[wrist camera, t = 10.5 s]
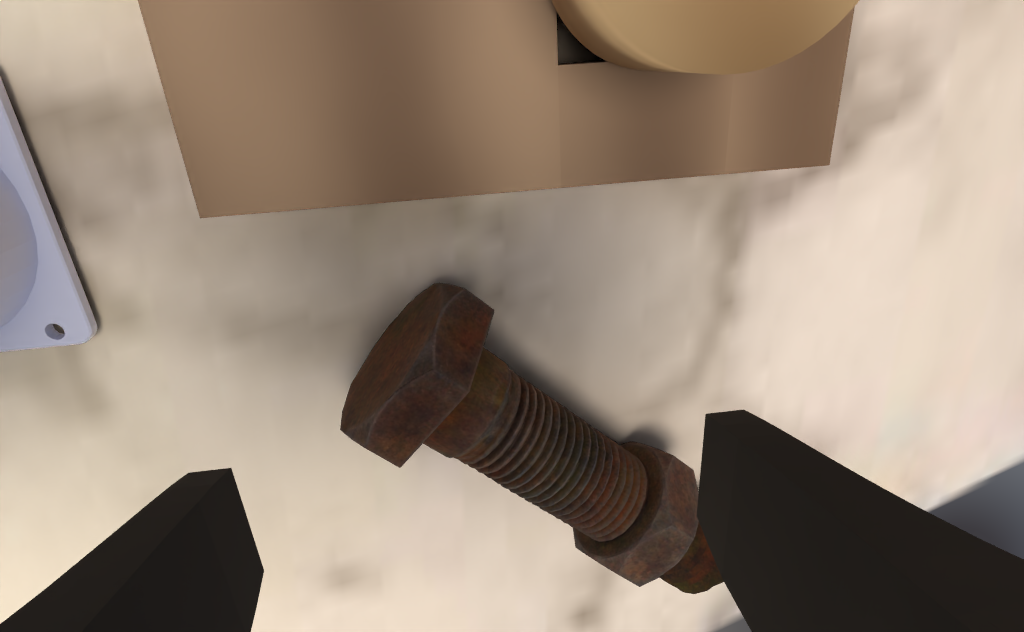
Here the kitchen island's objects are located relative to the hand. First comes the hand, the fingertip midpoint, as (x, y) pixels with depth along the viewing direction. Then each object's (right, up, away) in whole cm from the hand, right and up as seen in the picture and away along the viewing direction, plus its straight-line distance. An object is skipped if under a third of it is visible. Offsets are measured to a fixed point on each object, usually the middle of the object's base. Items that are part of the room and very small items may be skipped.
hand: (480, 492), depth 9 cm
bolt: (+2, -2, +13) cm, 13 cm away
